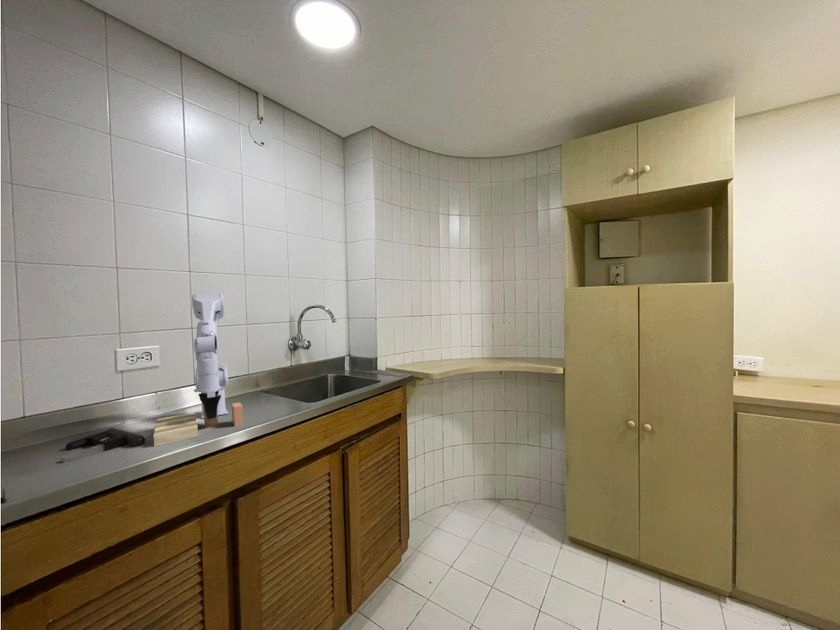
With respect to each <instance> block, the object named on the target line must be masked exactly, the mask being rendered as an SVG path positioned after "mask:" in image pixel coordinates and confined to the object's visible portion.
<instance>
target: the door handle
mask: <svg viewBox="0 0 840 630" xmlns="http://www.w3.org/2000/svg"><path fill="white" fill-rule="evenodd" d="M147 438H149V437H148V436H146V437H145V436H143V435H142V434H138V433H134V432H130V431H126V430H123V429H117V428H114V427H110V428H108V429H106V430H105V431H101V432H99V433H96V434H92V435H89V436H84V437H82V438H78V439H75V440H72V441H69V442H67V443H66V444H65V447H64V448H65V450H66V449H67V450H66V451H72V449H74V450H77V449H80V448H79V447H81V448H83V446H84V447H88V446H90V445H91V446H90V447H88V448H85V449H82V450H78V451H76V452H72V453H70V454H67V455H63V456H61V458H60V459H61V462H62V463H64V464H65V463H67V462H71V461H75V460H79V459H81V458H85V457H88V456H91V455H95V454H99V453H103V452H108V451H110V450H114V449H117V448H121V447H124V446H128V445H130V446H133V447H141V446H143V445H144V444H145V443H146V439H147ZM76 448H77V449H76Z"/></svg>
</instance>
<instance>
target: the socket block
mask: <svg viewBox="0 0 840 630" xmlns="http://www.w3.org/2000/svg"><path fill="white" fill-rule="evenodd" d="M198 428H199V427H198V423H197V419H196V414H195V412H189V413H183V414H177V415H172V416H166V417H162V418H157V419H156V421H155V427H154V432H153V446H154V447H157V446H161V445H162V446H163V445H167V444H171V443H176V442H181V441H184V440H185V441H186V440H190V439H195V438H198V437H199V429H198Z"/></svg>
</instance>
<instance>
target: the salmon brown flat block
mask: <svg viewBox="0 0 840 630" xmlns="http://www.w3.org/2000/svg"><path fill="white" fill-rule="evenodd" d="M243 407H244V406H243V405H242V403H241V402H234V403H233V402H232V403H231V420H232V421H231V422H232V424H233V426H234V427H238V426H243V425H244V408H243Z"/></svg>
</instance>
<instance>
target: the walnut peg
mask: <svg viewBox="0 0 840 630" xmlns="http://www.w3.org/2000/svg"><path fill="white" fill-rule="evenodd" d="M218 416H219V415H217V413H216V418H212V419H208V418H207V415H206V411H205V408H204V418H203V419H204V421H203V422H204V427H205V429H208V428H212V427H216V426H217V427H218V426H219V419H218V418H219V417H218Z"/></svg>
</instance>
